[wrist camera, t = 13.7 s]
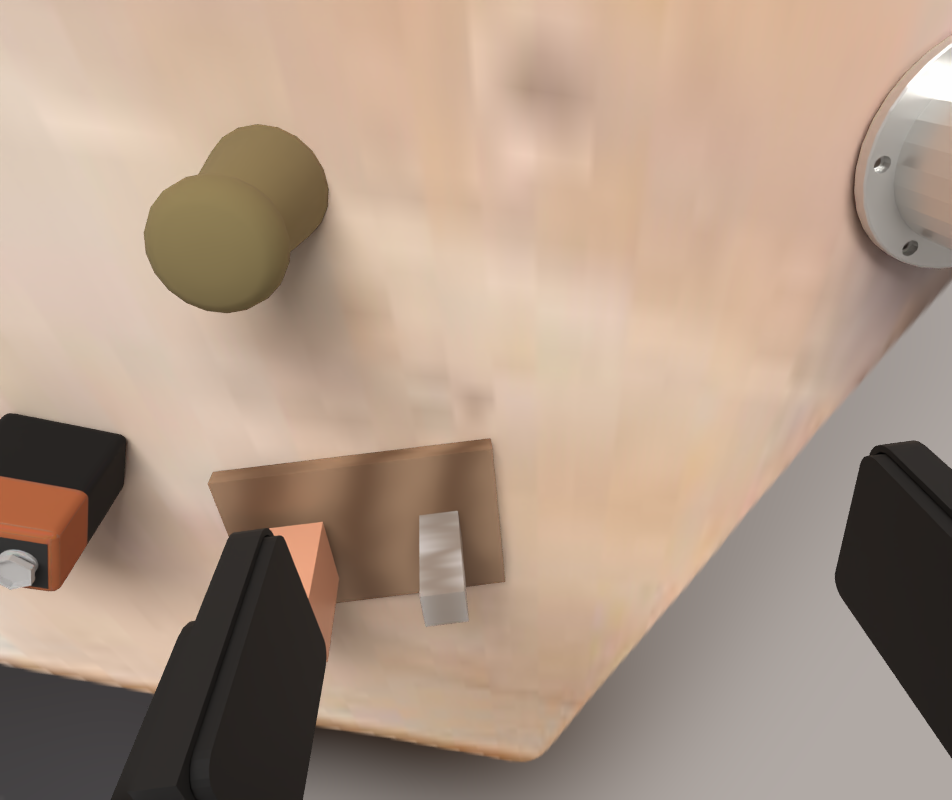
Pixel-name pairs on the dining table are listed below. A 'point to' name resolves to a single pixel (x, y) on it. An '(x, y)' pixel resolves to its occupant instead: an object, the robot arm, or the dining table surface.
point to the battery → (52, 496)
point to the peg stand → (385, 519)
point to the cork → (237, 219)
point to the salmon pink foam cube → (314, 570)
